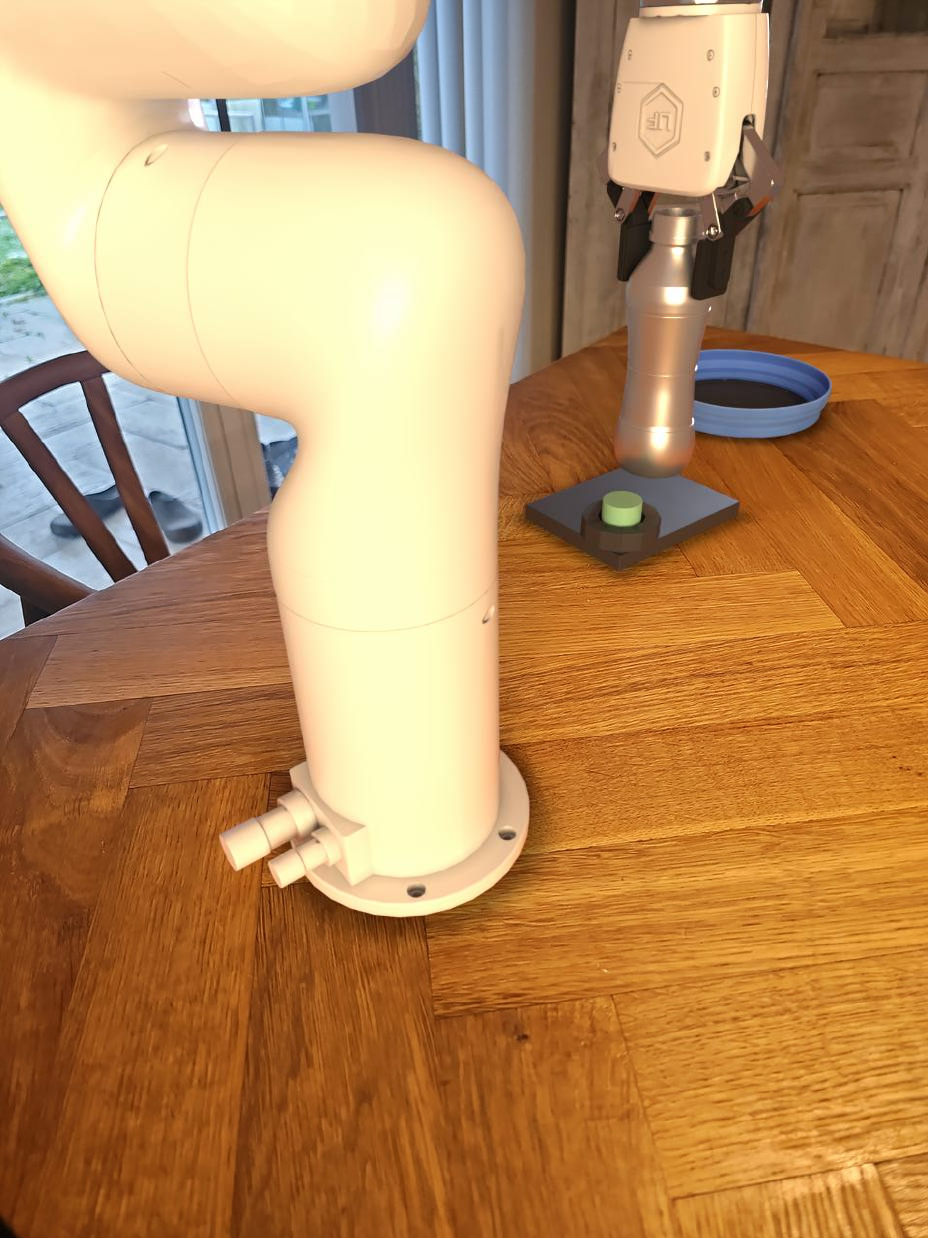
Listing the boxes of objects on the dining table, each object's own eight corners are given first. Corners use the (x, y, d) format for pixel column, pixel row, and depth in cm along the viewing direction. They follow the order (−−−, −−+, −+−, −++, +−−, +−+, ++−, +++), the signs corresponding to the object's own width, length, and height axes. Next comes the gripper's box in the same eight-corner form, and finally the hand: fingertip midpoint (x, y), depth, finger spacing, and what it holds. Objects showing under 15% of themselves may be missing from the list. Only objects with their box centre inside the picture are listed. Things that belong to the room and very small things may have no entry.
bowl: (620, 420, 89) (623, 387, 87) (688, 369, 101) (692, 339, 99) (794, 457, 80) (801, 421, 78) (845, 397, 92) (853, 365, 90)
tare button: (621, 533, 64) (622, 512, 63) (593, 518, 66) (594, 498, 65) (648, 520, 65) (651, 500, 64) (620, 507, 67) (622, 486, 66)
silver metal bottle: (658, 496, 68) (691, 225, 56) (594, 469, 72) (612, 212, 60) (706, 471, 71) (747, 211, 60) (643, 447, 75) (669, 200, 64)
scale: (618, 576, 64) (621, 542, 62) (521, 520, 71) (521, 488, 70) (742, 518, 71) (748, 485, 69) (641, 472, 78) (644, 442, 77)
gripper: (563, -6, 57) (554, 275, 67) (782, -21, 45) (730, 321, 55) (641, -7, 60) (621, 260, 71) (863, -21, 49) (801, 300, 59)
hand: (670, 284), depth 63 cm, fingers closed on silver metal bottle, 6 cm apart
